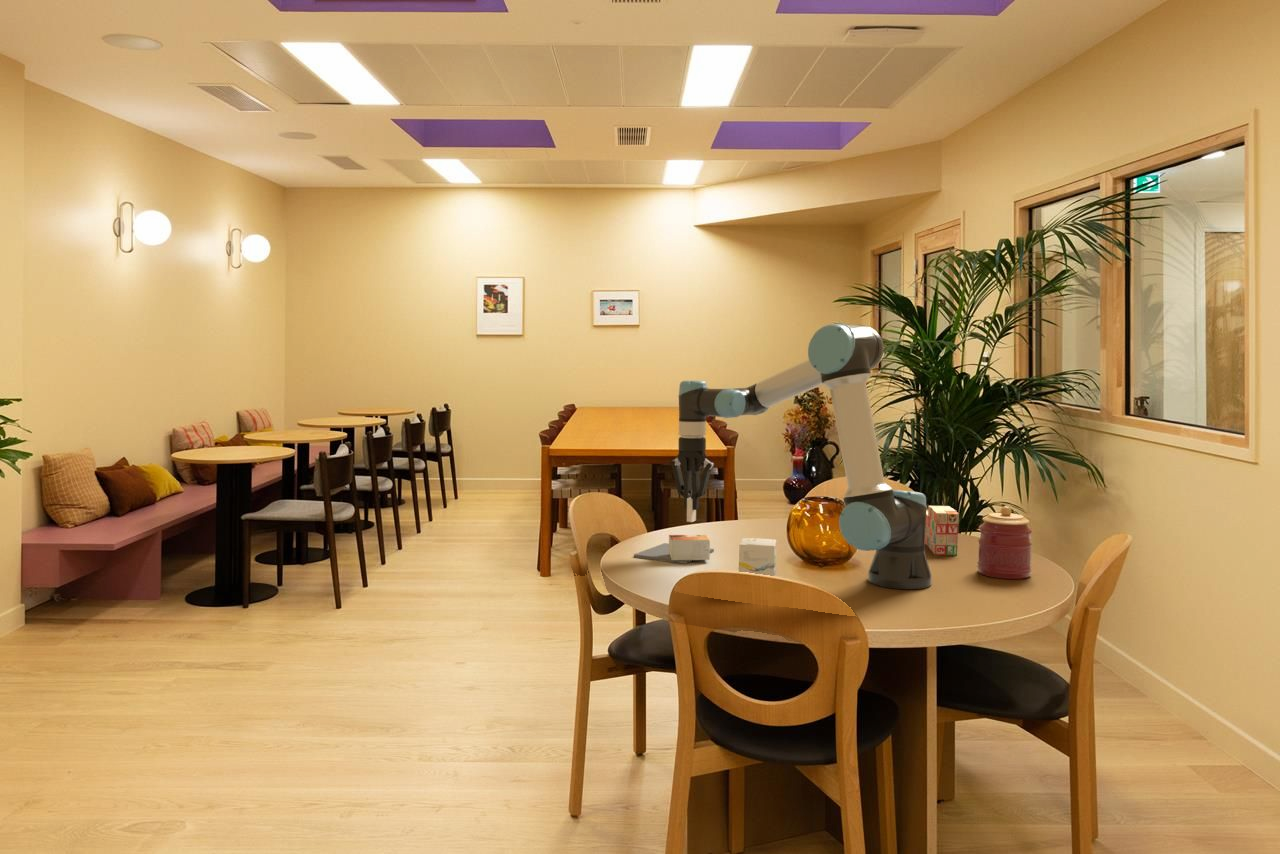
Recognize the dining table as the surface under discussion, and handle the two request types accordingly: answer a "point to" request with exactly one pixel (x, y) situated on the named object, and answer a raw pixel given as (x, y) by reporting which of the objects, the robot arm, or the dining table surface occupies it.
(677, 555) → the small box
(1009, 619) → the dining table surface
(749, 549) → the ink box
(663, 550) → the mat
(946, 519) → the stack of blocks
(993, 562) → the canister
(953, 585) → the dining table surface
